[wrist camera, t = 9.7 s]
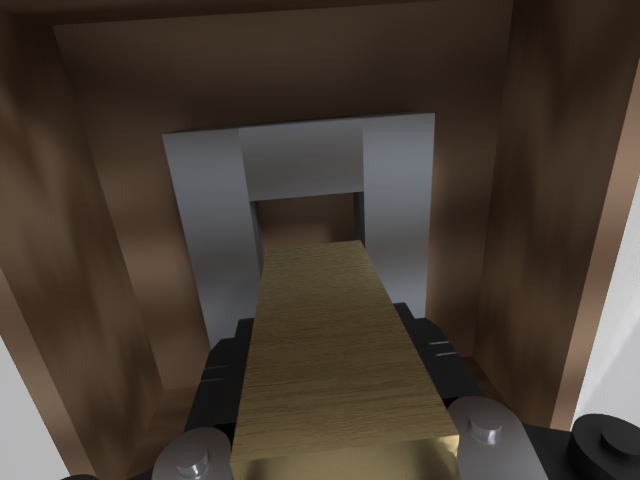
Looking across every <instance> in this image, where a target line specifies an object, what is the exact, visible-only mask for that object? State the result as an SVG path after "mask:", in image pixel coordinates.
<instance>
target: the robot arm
mask: <svg viewBox="0 0 640 480" xmlns="http://www.w3.org/2000/svg"><path fill="white" fill-rule="evenodd" d="M393 305H394V307H395V309H396V311H397V313H398V315H399V317H400V319H401V321H402V323H403V325H404V327H405V329H406V331H407V333H408V335H409V337H410V339H411V341H412V342H413V344H414V346H415V348H416V350H417V352H418V354H419V356H420V358H421V360H422V362H423V364H424V366H425V368H426V370H427V372H428V374H429V376H430V378H431V380H432V382H433V384H434V386H435V388H436V390H437V392H438V394H439V396H440V398H441V400H442V401H443V403H444V405H445V407H446V409H447V411H448V413H449V415H450V417H451V419H452V421H453V423H454V425H455V427H456V429H457V431H458V433H459V442H458V452H457V456H456V457H455V467H454V480H640V428H639V427H637V426H635V425H633V424H631V423H629V422H627V421H625V420H622V419H619V418H616V417H613V416H609V415H604V414H586V415H583V416H581V417H579V418H578V419H577V420H576V421H575V422H574V424H573V428H572V431H571V432H570V431H564V430H557V429H551V428H545V427H539V426H533V425H529V424H525V423H522V422H520V420H519V419H518V418H517V416H516V415H515V414H514V413H513V412H512V411H511V410H509V409H508V408H507V407H505V406H504V405H502V404H500V403H499V402H496V401H494V400H492V399H489V398H486V396H485V395H484V393H483V392H482V390H481V389H480V387H479V386H478V384H477V383H476V381H475V380H474V378H473V377H472V375H471V374H470V372H469V371H468V369H467V368H466V366H465V365H464V363H463V361H462V360H461V358H460V357H459V355H458V354H456V351H455V349H454V348H453V346H452V345H451V343H449V341H448V339H447V337H446V336H445V334H444V333H443V331H442V330H441V328H440V327H438V326H437V325H436V324H434V323H433V322H431V321H430V320H428V319H427V318H426V317H425V318H416V319H415V318H414V316H413V315H412V313H411V311H410V309H409V308H408V306H407V304H406V303H405V302H401V303H393ZM254 318H255V317H254ZM254 318H244V319H239V321H238V324H237V328H236V332H235V337H234V338H225V339H221V340H220V341H219V342H218V343H217V344H216V345H215V346H214V347H213V349H212V350H211V351H210V352H209V355H208V358H207V361H206V364H205V370H203V373H202V376H201V382H200V383H199V385H198V388H197V391H196V394H195V398H194V401H193V404H192V407H191V410H190V413H189V416H188V419H187V422H186V425H185V428H184V431H183V434H181V435H179V436H178V437H176V438H175V439H174V440H173V441H171V442H170V443H169V444H168V445H167V446H166V447H165V448H164V450H163V451H162V452H161V454H160V455H159V457H158V458H157V461H156V463H155V466H154V467H152V468H150V469H149V470H147V471H145V472H143V473H141V474H138V475H136V476H133V477H131V478H129V479H126V480H234V478H233V474H232V470H231V466H230V458H231V453H232V447H233V441H234V435H235V429H236V423H237V418H238V412H239V406H240V400H241V394H242V388H243V382H244V377H245V371H246V365H247V359H248V353H249V347H250V342H251V336H252V330H253V324H254ZM61 480H99V479H98V478H97V477H95V476H93V475H89V474H78V475H73V476H70V477H66V478H64V479H61Z"/></svg>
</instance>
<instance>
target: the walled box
mask: <svg viewBox="0 0 640 480" xmlns="http://www.w3.org/2000/svg"><path fill="white" fill-rule="evenodd" d="M639 175H640V0H0V335H1V337H2V339H3V341H4V343H5V345H6V347H7V349H8V351H9V353H10V355H11V357H12V359H13V361H14V363H15V365H16V367H17V369H18V371H19V373H20V375H21V377H22V379H23V381H24V383H25V385H26V387H27V389H28V391H29V393H30V395H31V397H32V399H33V401H34V403H35V405H36V407H37V409H38V411H39V413H40V415H41V418H42V419H43V422H44V424H45V425H46V428H47V429H48V431H49V433H50V435H51V438H52V439H53V442H54V444H55V446H56V447H57V450H58V452H59V454H60V456H61V458H62V460H63V462H64V464H65V466H66V468H67V470H68V471H69V473H70V476H73V475H78V474H89V475H93V476H95V477H97V478H98V479H99V480H126V479H129V478H131V477H133V476H136V475H138V474H141V473H143V472H145V471H147V470H149V469H150V468H152V467H154V466H155V463H156V461H157V458H158V457H159V455H160V454H161V452H162V451H163V450H164V448H165V447H166V446H167V445H168V444H169V443H170V442H171V441H173V440H174V439H175V438H176V437H178V436H179V435H181V434H183V431H184V428H185V425H186V422H187V419H188V416H189V413H190V410H191V407H192V404H193V401H194V398H195V394H196V391H197V388H198V385H199V383H200V382H201V376H202V373H203V370H205V364H206V361H207V358H208V355H209V352H210V351H211V350H212V349H213V347H214V346H215V345H216V344H217V343H218V342H219V341H220V340H221V339H225V338H234V337H235V332H236V328H237V324H238V321H239V319H244V318H254V317H255V312H256V306H257V301H258V295H259V289H260V283H261V277H262V271H263V266H264V260H265V254H266V249H272V248H282V247H293V246H303V245H314V244H324V243H334V242H345V241H355V240H361V242H362V244H363V246H364V248H365V250H366V252H367V254H368V256H369V258H370V260H371V262H372V264H373V266H374V268H375V270H376V272H377V274H378V276H379V278H380V280H381V281H382V283H383V285H384V287H385V289H386V291H387V293H388V295H389V297H390V299H391V301H392V303H401V302H405V303H406V304H407V306H408V308H409V309H410V311H411V313H412V315H413V316H414V318H415V319H416V318H425V317H426V318H427V319H428V320H430V321H431V322H433V323H434V324H436V325H437V326H438V327H440V328H441V330H442V331H443V333H444V334H445V336H446V337H447V339H448V341H449V343H451V345H452V346H453V348H454V349H455V351H456V354H458V355H459V357H460V358H461V360H462V361H463V363H464V365H465V366H466V368H467V369H468V371H469V372H470V374H471V375H472V377H473V378H474V380H475V381H476V383H477V384H478V386H479V387H480V389H481V390H482V392H483V393H484V395H485V396H486V398H489V399H492V400H494V401H496V402H499V403H500V404H502V405H504V406H505V407H507V408H508V409H509V410H511V411H512V412H513V413H514V414H515V415H516V416H517V418H518V419H519V420H520V422H522V423H525V424H529V425H533V426H539V427H545V428H551V429H557V430H564V431H570V427H571V424H572V420H573V416H574V413H575V409H576V405H577V402H578V398H579V394H580V391H581V387H582V383H583V380H584V376H585V372H586V369H587V365H588V361H589V358H590V354H591V350H592V347H593V343H594V339H595V336H596V332H597V328H598V325H599V321H600V317H601V314H602V310H603V306H604V303H605V299H606V296H607V292H608V288H609V285H610V281H611V277H612V274H613V270H614V266H615V263H616V259H617V255H618V252H619V248H620V244H621V241H622V237H623V233H624V230H625V226H626V222H627V219H628V215H629V211H630V208H631V204H632V200H633V197H634V193H635V189H636V186H637V182H638V178H639Z"/></svg>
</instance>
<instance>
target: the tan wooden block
mask: <svg viewBox="0 0 640 480" xmlns="http://www.w3.org/2000/svg"><path fill="white" fill-rule="evenodd" d="M458 442H459V433H458V431H457V429H456V427H455V425H454V423H453V421H452V419H451V417H450V415H449V413H448V411H447V409H446V407H445V405H444V403H443V401H442V400H441V398H440V396H439V394H438V392H437V390H436V388H435V386H434V384H433V382H432V380H431V378H430V376H429V374H428V372H427V370H426V368H425V366H424V364H423V362H422V360H421V358H420V356H419V354H418V352H417V350H416V348H415V346H414V344H413V342H412V341H411V339H410V337H409V335H408V333H407V331H406V329H405V327H404V325H403V323H402V321H401V319H400V317H399V315H398V313H397V311H396V309H395V307H394V305H393V303H392V301H391V299H390V297H389V295H388V293H387V291H386V289H385V287H384V285H383V283H382V281H381V280H380V278H379V276H378V274H377V272H376V270H375V268H374V266H373V264H372V262H371V260H370V258H369V256H368V254H367V252H366V250H365V248H364V246H363V244H362V242H361V240H355V241H345V242H334V243H324V244H314V245H303V246H293V247H282V248H272V249H266V254H265V260H264V266H263V271H262V277H261V283H260V289H259V295H258V301H257V306H256V312H255V318H254V324H253V330H252V336H251V342H250V347H249V353H248V359H247V365H246V371H245V377H244V382H243V388H242V394H241V400H240V406H239V412H238V418H237V423H236V429H235V435H234V441H233V447H232V453H231V458H230V466H231V470H232V474H233V478H234V480H454V467H455V457H456V456H457V452H458Z"/></svg>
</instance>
